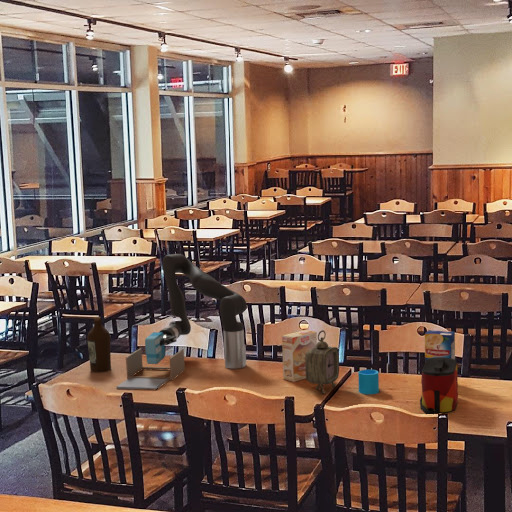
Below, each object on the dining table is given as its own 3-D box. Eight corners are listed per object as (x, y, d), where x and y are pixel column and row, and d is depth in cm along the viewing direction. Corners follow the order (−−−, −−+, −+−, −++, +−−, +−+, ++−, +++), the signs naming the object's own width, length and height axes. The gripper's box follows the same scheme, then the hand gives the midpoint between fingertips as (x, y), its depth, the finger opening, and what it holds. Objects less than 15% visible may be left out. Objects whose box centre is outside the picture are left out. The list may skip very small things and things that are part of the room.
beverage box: (451, 388, 354) (451, 335, 352) (425, 385, 359) (424, 333, 356) (455, 383, 360) (455, 331, 358) (429, 381, 365) (428, 330, 362)
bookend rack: (184, 370, 400) (183, 349, 399) (171, 380, 383) (170, 358, 382) (141, 369, 405) (140, 348, 404) (127, 379, 389) (125, 357, 387)
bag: (454, 417, 317) (454, 373, 315) (416, 415, 321) (415, 372, 319) (459, 394, 346) (459, 353, 344) (424, 392, 350) (423, 352, 348)
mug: (377, 394, 349) (377, 374, 348) (357, 394, 351) (357, 374, 350) (380, 386, 361) (380, 367, 360) (361, 386, 363) (360, 366, 362)
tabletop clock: (325, 395, 351) (323, 335, 347) (304, 393, 355) (302, 333, 352) (339, 386, 363) (338, 327, 360) (320, 384, 368) (318, 326, 364)
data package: (156, 365, 387) (153, 339, 385) (147, 364, 389) (144, 339, 386) (165, 356, 399) (163, 331, 397) (156, 356, 400) (154, 331, 398)
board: (167, 381, 382) (167, 379, 382) (156, 390, 369) (155, 387, 369) (129, 380, 387) (129, 377, 387) (116, 388, 373) (116, 386, 373)
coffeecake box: (294, 382, 373) (292, 337, 371) (282, 379, 378) (281, 335, 376) (318, 375, 383) (317, 331, 380) (307, 372, 388) (305, 329, 386)
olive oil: (106, 365, 415) (102, 314, 412) (116, 369, 406) (113, 317, 403) (85, 369, 409) (82, 317, 406) (95, 373, 400) (91, 320, 397)
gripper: (153, 327, 410) (139, 335, 394) (182, 327, 407) (169, 335, 390) (154, 343, 411) (140, 351, 395) (183, 343, 408) (170, 351, 391)
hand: (155, 343), depth 393 cm, fingers closed on data package, 4 cm apart
